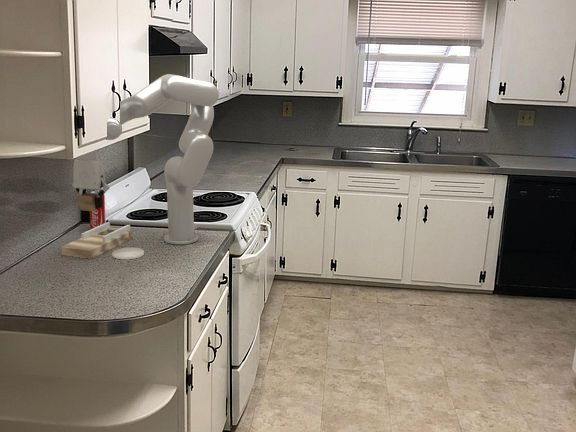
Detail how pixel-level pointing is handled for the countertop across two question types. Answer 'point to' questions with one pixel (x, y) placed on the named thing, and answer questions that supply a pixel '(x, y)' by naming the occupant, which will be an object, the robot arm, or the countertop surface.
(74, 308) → the countertop surface
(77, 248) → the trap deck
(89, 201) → the walnut block
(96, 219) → the beverage can
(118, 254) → the cream plate
